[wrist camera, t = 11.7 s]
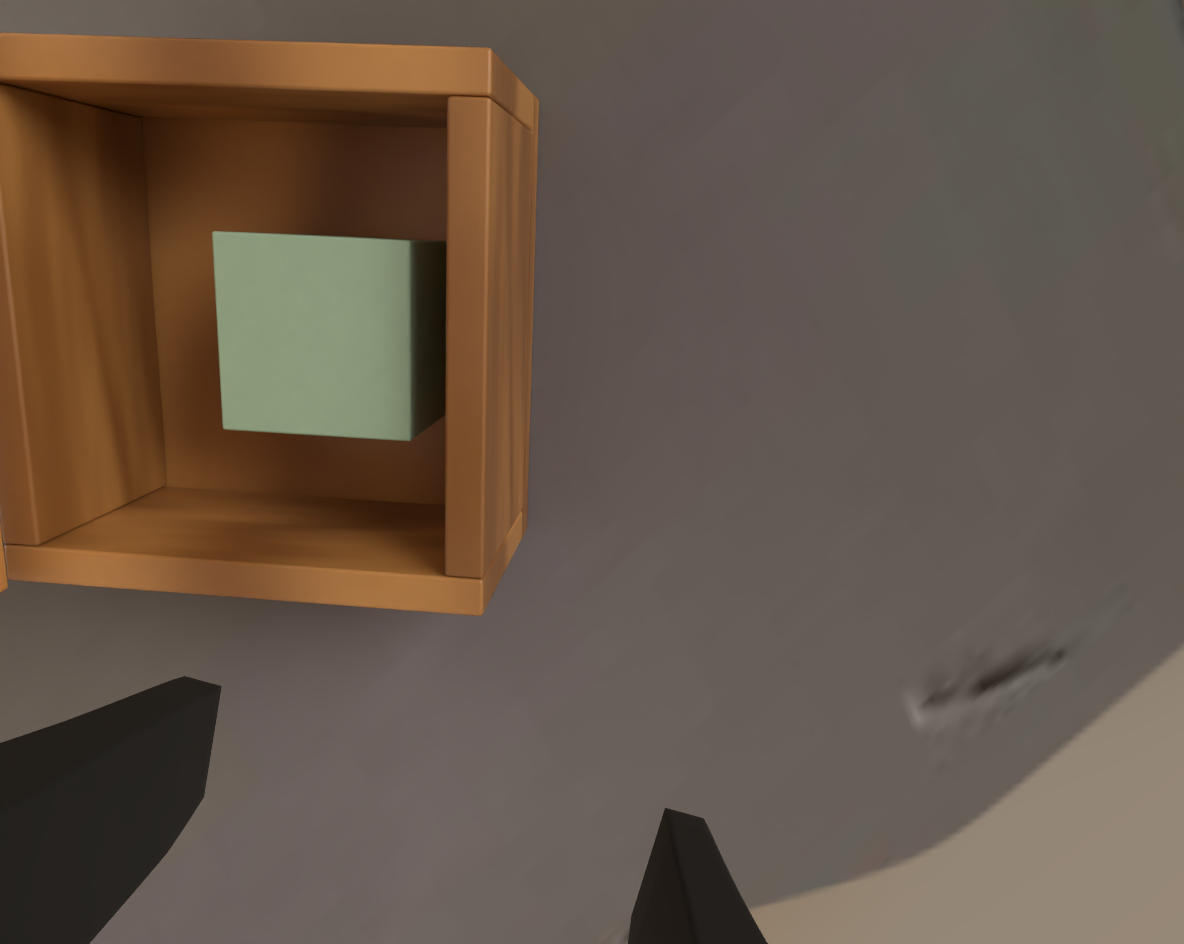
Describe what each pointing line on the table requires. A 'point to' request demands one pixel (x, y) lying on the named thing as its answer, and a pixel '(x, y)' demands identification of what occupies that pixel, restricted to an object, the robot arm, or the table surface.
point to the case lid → (2, 566)
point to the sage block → (330, 334)
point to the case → (189, 325)
